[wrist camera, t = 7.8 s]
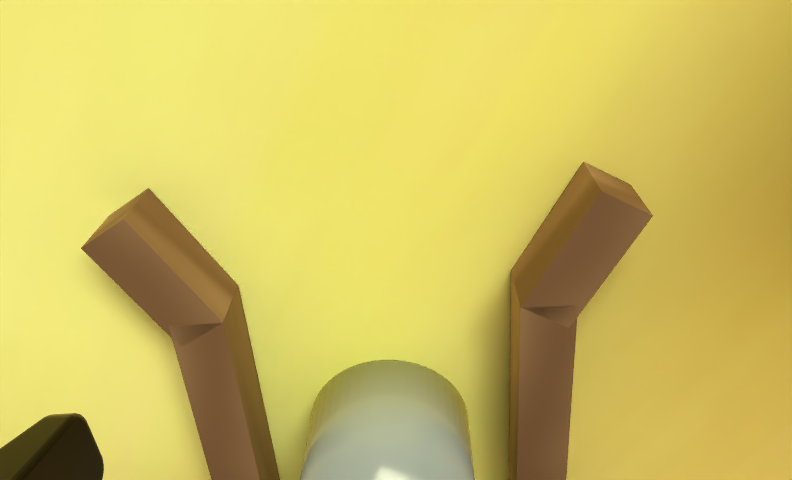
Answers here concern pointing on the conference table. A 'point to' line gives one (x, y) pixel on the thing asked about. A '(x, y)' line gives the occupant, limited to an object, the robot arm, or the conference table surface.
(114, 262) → the lane
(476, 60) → the conference table surface
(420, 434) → the jar
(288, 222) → the conference table surface
